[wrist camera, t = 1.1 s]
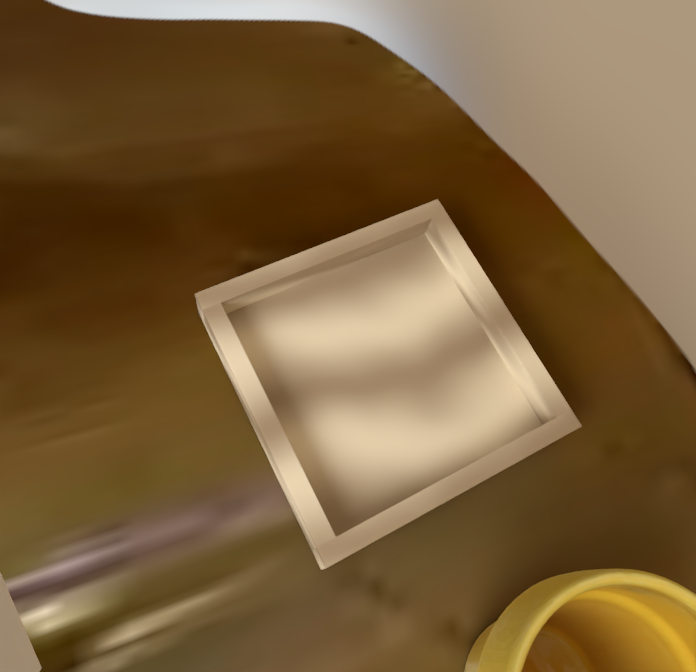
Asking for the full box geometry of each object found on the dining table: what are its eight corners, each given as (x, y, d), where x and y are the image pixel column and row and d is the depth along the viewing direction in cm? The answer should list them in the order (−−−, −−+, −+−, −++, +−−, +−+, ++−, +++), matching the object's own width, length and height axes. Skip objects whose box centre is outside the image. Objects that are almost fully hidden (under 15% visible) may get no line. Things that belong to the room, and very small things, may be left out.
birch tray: (198, 312, 35) (194, 293, 33) (427, 221, 40) (438, 199, 37) (320, 569, 31) (326, 567, 29) (560, 436, 36) (582, 426, 33)
